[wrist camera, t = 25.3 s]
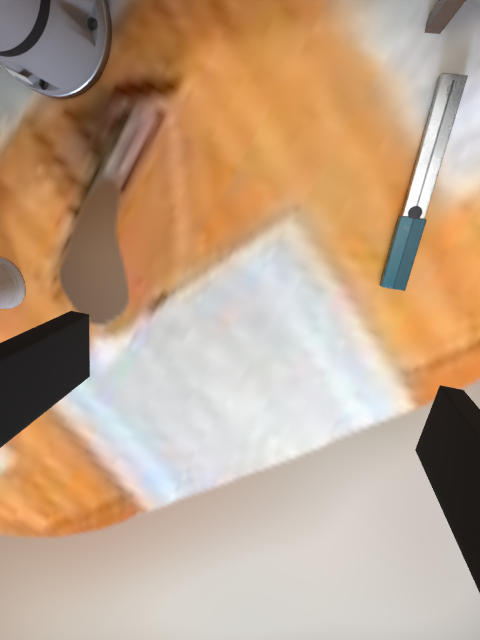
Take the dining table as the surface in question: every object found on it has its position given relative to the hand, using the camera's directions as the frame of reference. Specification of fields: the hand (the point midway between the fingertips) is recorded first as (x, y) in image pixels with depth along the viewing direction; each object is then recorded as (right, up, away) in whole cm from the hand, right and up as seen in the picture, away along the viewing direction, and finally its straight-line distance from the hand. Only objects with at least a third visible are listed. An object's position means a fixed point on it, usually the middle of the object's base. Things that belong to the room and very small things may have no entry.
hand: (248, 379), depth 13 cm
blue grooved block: (+22, +18, +29) cm, 41 cm away
